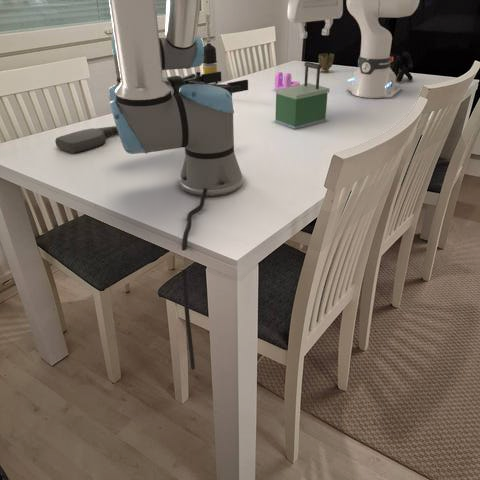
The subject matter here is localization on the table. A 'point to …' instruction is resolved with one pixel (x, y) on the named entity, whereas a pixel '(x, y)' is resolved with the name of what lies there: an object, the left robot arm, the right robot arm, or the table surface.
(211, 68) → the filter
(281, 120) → the chest
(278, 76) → the bracket
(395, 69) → the squiggle
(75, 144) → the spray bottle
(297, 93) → the lid
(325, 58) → the cup
